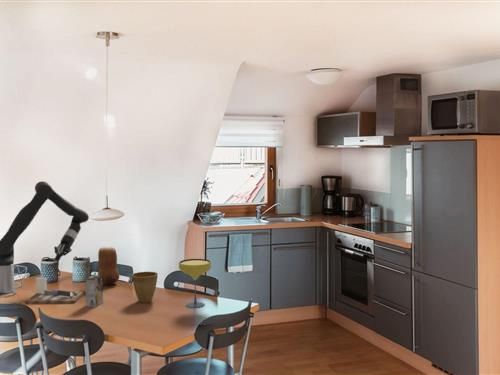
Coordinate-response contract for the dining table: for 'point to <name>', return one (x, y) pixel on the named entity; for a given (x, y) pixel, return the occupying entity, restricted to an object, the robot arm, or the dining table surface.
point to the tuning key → (42, 288)
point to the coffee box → (94, 290)
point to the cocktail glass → (195, 274)
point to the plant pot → (145, 285)
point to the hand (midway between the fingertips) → (56, 260)
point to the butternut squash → (108, 265)
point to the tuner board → (55, 298)
